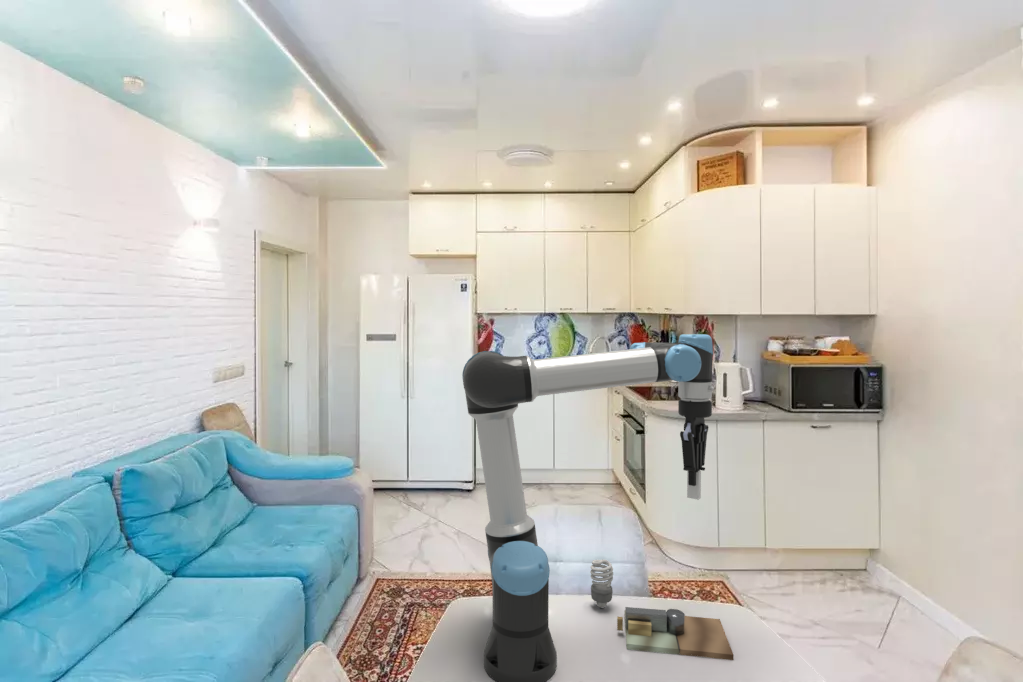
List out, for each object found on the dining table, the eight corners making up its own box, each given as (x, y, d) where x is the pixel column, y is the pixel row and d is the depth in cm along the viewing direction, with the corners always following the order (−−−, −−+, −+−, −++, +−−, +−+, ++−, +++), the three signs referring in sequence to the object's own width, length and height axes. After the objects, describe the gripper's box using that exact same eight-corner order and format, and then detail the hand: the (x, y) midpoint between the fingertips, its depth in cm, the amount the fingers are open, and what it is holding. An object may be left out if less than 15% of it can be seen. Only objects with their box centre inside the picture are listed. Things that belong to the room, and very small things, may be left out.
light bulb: (612, 602, 137) (612, 556, 136) (613, 614, 131) (614, 565, 131) (589, 601, 137) (590, 554, 137) (590, 612, 132) (590, 564, 131)
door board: (617, 648, 117) (617, 631, 117) (616, 614, 131) (616, 599, 131) (733, 660, 113) (733, 642, 113) (719, 624, 127) (719, 608, 127)
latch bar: (682, 625, 124) (682, 609, 123) (685, 635, 120) (685, 618, 120) (625, 621, 125) (625, 605, 125) (626, 630, 122) (626, 614, 121)
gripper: (701, 403, 120) (700, 508, 121) (719, 397, 130) (718, 494, 131) (669, 400, 125) (668, 501, 125) (689, 395, 135) (688, 488, 136)
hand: (693, 497), depth 128 cm, fingers closed
